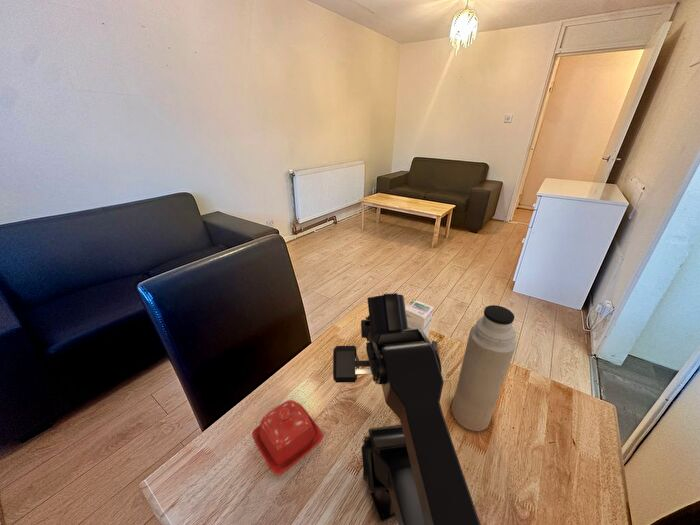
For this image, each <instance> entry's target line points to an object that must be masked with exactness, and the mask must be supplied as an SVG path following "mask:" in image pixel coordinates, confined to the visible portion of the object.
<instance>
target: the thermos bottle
mask: <svg viewBox="0 0 700 525" xmlns="http://www.w3.org/2000/svg"><path fill="white" fill-rule="evenodd" d="M514 320H515V314H514V313H513V312H512V311H511V310H510V309H508V308H506V307H504V306H501V305H497V304H495V305H494V304H491V305H487V306H486V307H485V308H484V310H483V316H482V317H479V318H478V319H476V322H475V324H474V325H472V326H471V328H470V330H469V333H468V338H467V342H466V347H465V351H464V353H463V354H464V355H463V358H462V363H461V367H460V372H459V376H458V380H457V383H456V388H455V392H454V396H453V400H452V404H451V413H452V415H453V418H454V419H455V421H456V422H457V423H458V424H459V425H461V426H462V427H463V428H465V429H467V430H469V431H475V432H481V431H483V430H485V429H487V428H488V427H489V425H490V422H491V419H492V417H493V414H494V411H495V408H496V406H497V402H498V399H499V396H500V393H501V389H502V386H503V384H504V382H505V379H506V377H507V373H508V371H509V367H510V365H511V362H512V359H513V356H514V353H515V351H516V347H517V340H516V330H515V328H514V327H513V323H514Z"/></svg>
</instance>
